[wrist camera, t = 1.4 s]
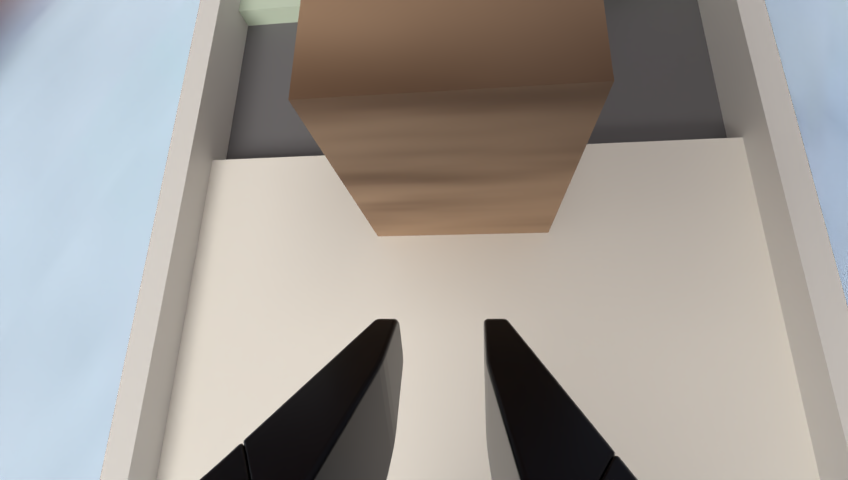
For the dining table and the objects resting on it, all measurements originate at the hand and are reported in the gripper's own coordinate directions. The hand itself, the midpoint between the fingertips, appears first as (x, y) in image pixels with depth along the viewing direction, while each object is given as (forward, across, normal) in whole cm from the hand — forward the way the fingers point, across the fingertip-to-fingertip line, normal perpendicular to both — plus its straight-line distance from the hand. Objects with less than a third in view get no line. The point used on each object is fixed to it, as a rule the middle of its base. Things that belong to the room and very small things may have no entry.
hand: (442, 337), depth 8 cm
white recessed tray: (+17, 0, +2) cm, 17 cm away
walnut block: (+16, 0, +1) cm, 16 cm away
